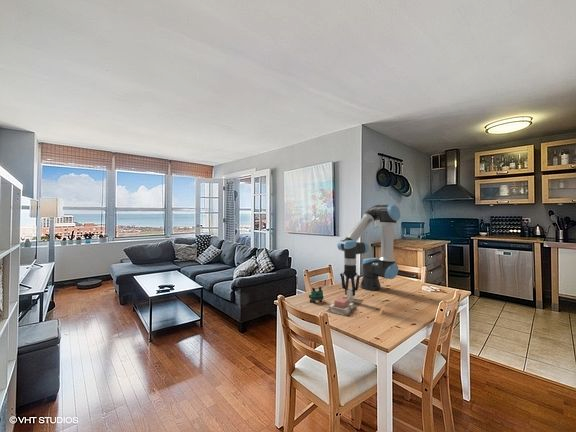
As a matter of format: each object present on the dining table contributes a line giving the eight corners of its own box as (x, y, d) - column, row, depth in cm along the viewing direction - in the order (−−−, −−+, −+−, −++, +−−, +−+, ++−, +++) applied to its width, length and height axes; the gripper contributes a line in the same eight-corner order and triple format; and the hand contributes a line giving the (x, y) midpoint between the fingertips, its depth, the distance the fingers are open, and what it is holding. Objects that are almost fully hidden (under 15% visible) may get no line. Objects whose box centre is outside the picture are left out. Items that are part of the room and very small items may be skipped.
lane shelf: (343, 298, 178) (343, 292, 178) (363, 301, 171) (363, 295, 171) (326, 312, 153) (326, 306, 153) (349, 318, 145) (349, 311, 145)
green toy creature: (318, 284, 177) (324, 287, 167) (319, 300, 176) (325, 304, 166) (306, 285, 174) (311, 288, 165) (306, 301, 174) (312, 305, 164)
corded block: (346, 299, 172) (346, 287, 172) (355, 301, 169) (355, 289, 169) (334, 310, 153) (334, 297, 153) (344, 312, 150) (344, 299, 150)
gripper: (336, 264, 169) (336, 299, 169) (360, 266, 161) (360, 304, 161) (340, 262, 175) (340, 296, 176) (363, 264, 167) (363, 300, 168)
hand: (350, 300), depth 169 cm, fingers closed on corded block, 2 cm apart
